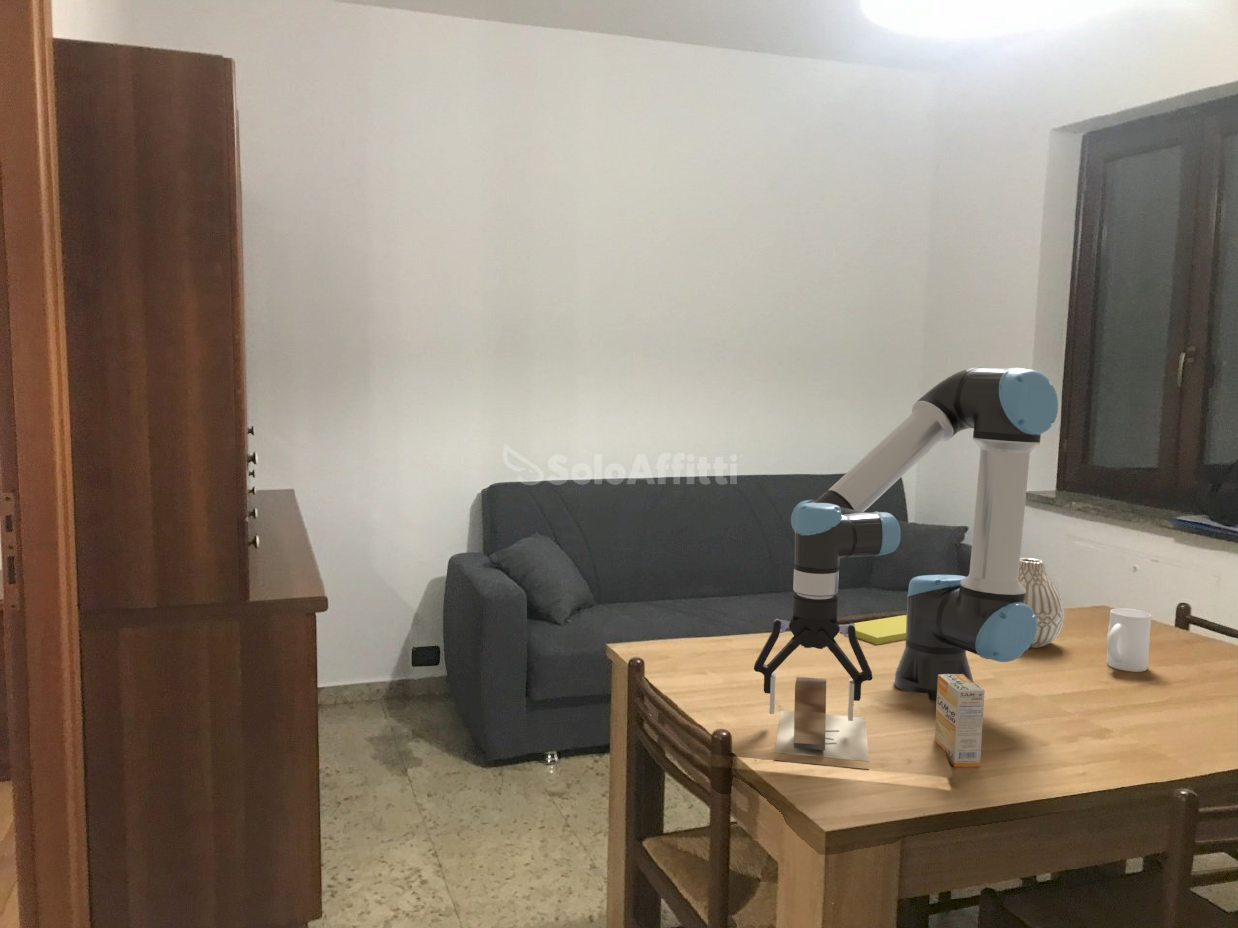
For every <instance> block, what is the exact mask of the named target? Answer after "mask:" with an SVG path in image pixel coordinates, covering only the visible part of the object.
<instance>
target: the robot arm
mask: <svg viewBox="0 0 1238 928" xmlns="http://www.w3.org/2000/svg"><path fill="white" fill-rule="evenodd" d="M1058 411H1059V400H1058V394H1057V390H1056V388H1055V387H1054V385H1053V383H1051V382H1050V379H1049V378H1048V377H1047V376H1046V375H1045V374H1044V373H1042V372H1040V371H1037V370H1035V369H1030V368H1021V367H1009V368H1008V367H1006V368H1005V367H1004V368H1003V367H998V368H997V367H990V368H989V367H986V368H985V367H970V368H966V369H963V370H960V371H958V372H955V373H954V374H952V375H949V376H948V377H946V378H945V379H943V380H942V381H940V382H939V383H938V384H936V385H935V386H933V387H932V388H930V389H929V390H928V391H927V392H926V393H925V394H924V395H923V396H921V397H920V398H919V399H918V400H917V401H916V402H915V403H913V405H912V407H911V413H910V414H909V415H908V416H907V417H905V419H904V420H903V421H902V422H900V423H899V425H898V426H896V427H895V428H894V429H893V430H892V431H891V432H890V433H889V434H887V435H886V436H885V437H884V438H883V439H882V440H880V442H879V443H878V444H876V445H875V447H873V448H872V449H871V450H870V451H869V452H868V453H867V454H865V456H864V457H863V458H861V459H860V460H859V461H858V462H856V464H854V466H853V467H851V468H850V469H849V471H847V472H846V473H845V474H844V475H843V476H842V477H840V479H839V480H837V481H836V482H835V483H834V484H833V485H832V486H831V487H830V488H829V489H828V490H826V491H825V492H824V493H823V494H822V495H821V496H819V498H817V499H806V500H802V501H800V502H799V503H797V505H796V506H795V507H794V508H793V511H792V513H791V517H790V523H791V524H790V525H791V527H792V529H793V532H794V564H793V565H794V566H793V567H794V568H793V588H792V589H793V592H795V593H794V594H793V595H792V614H791V615H792V616H791V617H792V618H791V619H790V620H784V619H781V618H780V617H775V618H774V620H773V621H774V622H773V627H772V631H771V633H770V634H769V637H768V639H767V640H766V642H765V644H764V645H763V648H762V650H761V651H760V653H759V655H758V656H757V659H756V661H755V662H754V665H753V670H754V671H755V672H756V673H758V672H759V673H761V674H762V675H763V692H764V693H765V694H769V714H770V715H774V714H775V709H776V708H775V707H776V686H777V685H776V680H777V679H776V678H777V672H775V671H776V670H777V669H778V668H779V667H780V666H781V664H783V662H784V661H785V660H786V659H787V658H788V657H789V656H791V654H792V653H793V652H794V651H795V650H796V649H797V648H799V646H802V647H804V649H811V648H815V649H819V650H823V649H824V648H827V649H828V650H829V652H831V654H833V656H834V657H835V658H836V660H837V661H838V662H839V663H840V665H841V666H842V667H843V669H844V670H845V671H846V672H847V674H848V675H849V676H850V678H849V679H848V680H849V683H848V704H847V705H848V708H847V716H848V721H853V717H854V702H855V701H856V702H860V700H861V697H862V694H861V693H862V684H863V683H864V682H866V681H871V680H872V679H873V672H872V669H871V667H870V666H869V662H868V661H867V658H866V656H865V654H864V651H863V649H862V648H861V644H860V641H858V638H856V633H855V624H854V623H855V622H852V621H851V622H849V623H846V624H839V623H838V601H839V599H838V597H837V595H836V594H838V593H839V579H840V577H839V573H840V561H841V559H847V558H859V557H861V558H862V557H863V558H864V557H879V556H885V555H889V554H891V553H893V552H895V551H896V550H897V549H898V547H899V545H900V542H901V533H902V531H901V526H900V522H899V521H898V519H897V518H896V517H895V516H894V515H893V514H892V513H889V512H886V511H883V512H882V511H876V510H875V511H873V512H867V510H868V509H869V508H870V507H871V506H872V505H873V504H874V503H876V501H877V500H878V499H880V497H882V496H883V494H885V493H886V492H887V491H888V490H889V489H890V488H891V487H893V485H894V484H895V483H896V482H898V481H899V480H900V478H902V477H903V476H905V474H906V473H907V472H908V471H910V469H912V468H913V467H914V466H915V465H916V464H917V463H918V462H919V461H920V460H921V459H923V458H924V456H926V455H927V454H928V453H930V451H931V450H932V449H933V448H934V447H935V446H937V444H939V442H941V441H942V442H946V441H947V442H948V441H949V440H951V439H952V438H953V437H954V436H955V435H956V434H957V433H960V432H961V431H964V430H968V429H973V431H972V432H973V433H972V440H973V441H974V442H975V443H976V444H977V446H978V447H979V449H980V451H979V461H978V462H979V464H978V474H977V475H978V476H977V484H976V485H977V487H976V496H975V497H976V498H975V508H974V509H975V510H974V520H973V531H972V541H971V542H972V543H971V552H970V564H969V573H968V575H967V576H965V575H956V574H927V575H918V576H914V577H912V578H911V579H910V581H909V582H908V583H909V584H908V590H907V595H906V615H907V618H906V640H905V646H904V650H903V652H902V656H901V658H900V659H899V662H898V665H897V667H896V670H895V674H894V685H895V687H896V688H897V689H899V690H900V691H902V692H909V693H921V694H927V697H928V699H931V700H937V685H938V675H940V674H963V675H965V676H966V677H967V678H968V679H970V680H971V681H972V682H974V678H973V675H972V672H971V668H970V665H969V661H968V657H967V652H969V653H972V654H975V655H977V656H979V657H980V658H983V659H985V660H990V661H991V660H992V661H996V662H997V663H1008V662H1011V661H1014V660H1016V659H1018V658H1020V657H1022V655H1023V654H1024V653H1025V652H1026V651H1028V650H1029V649H1030V648H1029V647H1030V645H1031V644H1032V642H1033V640H1034V637H1035V634H1036V631H1037V618H1036V615H1035V614H1034V611H1033V610H1032V609H1031V608H1030V607H1029V606H1028V605H1027V604H1025V595H1026V589H1025V588H1024V587H1023V586H1022V585H1021V583H1020V582H1019V580H1018V575H1019V565H1020V558H1021V554H1022V553H1021V552H1022V543H1023V541H1022V540H1023V531H1024V521H1025V512H1026V511H1025V510H1026V501H1027V500H1026V499H1027V490H1028V489H1027V488H1028V476H1029V468H1030V466H1029V465H1030V458H1031V453H1032V451H1033V450H1034V449H1035V448H1037V447H1038V446H1039V445H1040V444H1041V438H1042V434H1043V433H1046V432H1047V431H1048V430H1050V429H1051V428H1052V424H1054V423H1055V421H1056V420H1057V416H1058ZM865 511H866V512H865ZM787 629H789V630H790V632H791V633H792V635H793V636H792V637H791V638H790V640H789V642H787V644H785V646H784V647H783V648H782V649H781V650H780V651H779V652H778V653H777V654H776V655H775V656H774V657H773V658H772V659H771V660H770V662H769V663H768V664H765V663H766V660H767V659H768V657H769V655H770V653H771V651H772V649H773V648H774V647H775V644H776V642H777V641H778V639H779V636H780V634H783V633H785V631H786V630H787ZM839 633H842V635H843V636H844V638H847V639H848V643H849V644H850V647H851V649H852V651H853V654H854V655H855V658H856V661H857V662H858V664H859V668H860V670H861V672H859V670H858V669H857V668H856V666H855V665H854V664H853V662H852V661H851V660H850V659H849V657H848V656H847V655H846V653H845V652H844V650H842V648H841V647H840V646H839V644H838V642H837V641H836V639H835V638H836V636H837V635H838V634H839Z"/></svg>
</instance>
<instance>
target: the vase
mask: <svg viewBox="0 0 1238 928" xmlns="http://www.w3.org/2000/svg"><path fill="white" fill-rule="evenodd" d="M1018 580H1019V582H1020V583H1021V585H1022V586H1023V587H1024V588H1025V589H1026V595H1025V604H1027V605H1028V606H1029V607H1030V608H1031V609H1032V610H1033V611H1034V614H1035V615H1036V618H1037V631H1036V634H1035V637H1034V640H1033V642H1032V644H1031V645H1030V647H1029V648H1028V649H1030V648H1031V649H1033V648H1035V649H1036V648H1043V647H1045V646H1047V645H1049V644H1051V643H1052V642H1053V641H1054V640H1055V639H1056V638H1057V637H1058V635H1059V634H1060V632H1061V631H1062V628H1063V625H1064V622H1065V610H1064V609H1065V608H1064V604H1063V599H1062V597H1061V595H1060V592H1059V591H1058V589H1057V586H1055V583H1054V582H1053V580H1052V579H1051V578H1050V577H1049V575H1048V573H1047V571H1046V567H1045V563H1044V561H1043V560H1042V559H1039V558H1032V557H1020V565H1019V575H1018Z"/></svg>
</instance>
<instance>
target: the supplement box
mask: <svg viewBox="0 0 1238 928" xmlns="http://www.w3.org/2000/svg"><path fill="white" fill-rule="evenodd" d="M984 706H985V690H984V689H983V688H981V687H980V686H979V685H978V684H977V683H975V682H974V681H973V682H972V681H971V680H970V679H968V678H967V677H966V676H965V675H963V674H940V675H938V685H937V699H936V707H935V708H936V709H935V724H934V725H935V726H934V727H935V728H934V741H935V742H936V743H937V744H938V745H939V746H940V747H941V748H942V749H943V750H944V751H945V755H946V758H947V761H948V762H949V763H950V765H952V767H954V768H967V767H968V768H970V767H971V768H975V767H980V766H981V756H982V755H981V753H982V741H983V740H982V739H983V737H982V736H983V724H984V723H983V721H984V720H983V719H984Z"/></svg>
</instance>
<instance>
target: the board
mask: <svg viewBox="0 0 1238 928" xmlns="http://www.w3.org/2000/svg"><path fill="white" fill-rule="evenodd" d="M794 711H795V710H794ZM794 711H793V710H792V711H791V710H780V712H779V719H778V726H777V728H778V729H777V736H776V742H775V743H776V744H775V749H774V753H775V754H786V755H796V756H797V755H798V756H807V757H809V756H810V757H818V758H828V759H837V760H838V759H839V760H847V761H857V762H870V754H869V745H868V737H867V735H868V734H867V727H866V718H865V717H862V716H861V717H859V716H853V721H848V715H836V714H826V726H825V750H817V749H804V748H794ZM774 762H781V763H792V764H800V765H801V764H802V765H812V766H821V767H832V768H841V769H851V770H862V771H863V770H864V771H870V769H869V768H863V767H861V768H859V767H852V766H843V765H841V766H840V765H832V764H823V763H822V764H820V763H811V762H800V761H791V760H782V759H781V760H779V759H774Z"/></svg>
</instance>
